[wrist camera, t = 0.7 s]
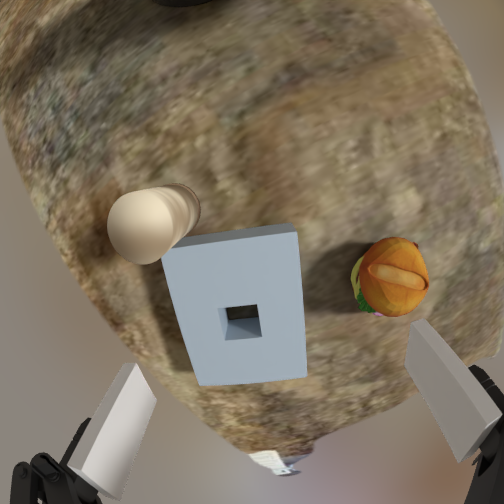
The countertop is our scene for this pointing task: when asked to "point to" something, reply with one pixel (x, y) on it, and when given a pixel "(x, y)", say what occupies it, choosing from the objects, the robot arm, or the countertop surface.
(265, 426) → the countertop surface
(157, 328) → the countertop surface
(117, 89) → the countertop surface
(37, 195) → the countertop surface
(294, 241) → the board
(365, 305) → the cheeseburger
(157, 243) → the peg
